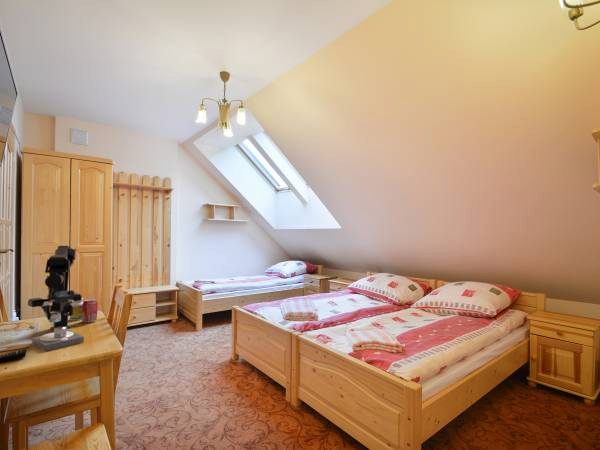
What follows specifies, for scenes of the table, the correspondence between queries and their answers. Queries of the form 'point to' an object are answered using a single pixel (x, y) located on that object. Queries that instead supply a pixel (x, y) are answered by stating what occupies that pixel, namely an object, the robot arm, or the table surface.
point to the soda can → (89, 310)
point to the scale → (57, 341)
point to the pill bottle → (77, 310)
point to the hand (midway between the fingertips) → (54, 318)
